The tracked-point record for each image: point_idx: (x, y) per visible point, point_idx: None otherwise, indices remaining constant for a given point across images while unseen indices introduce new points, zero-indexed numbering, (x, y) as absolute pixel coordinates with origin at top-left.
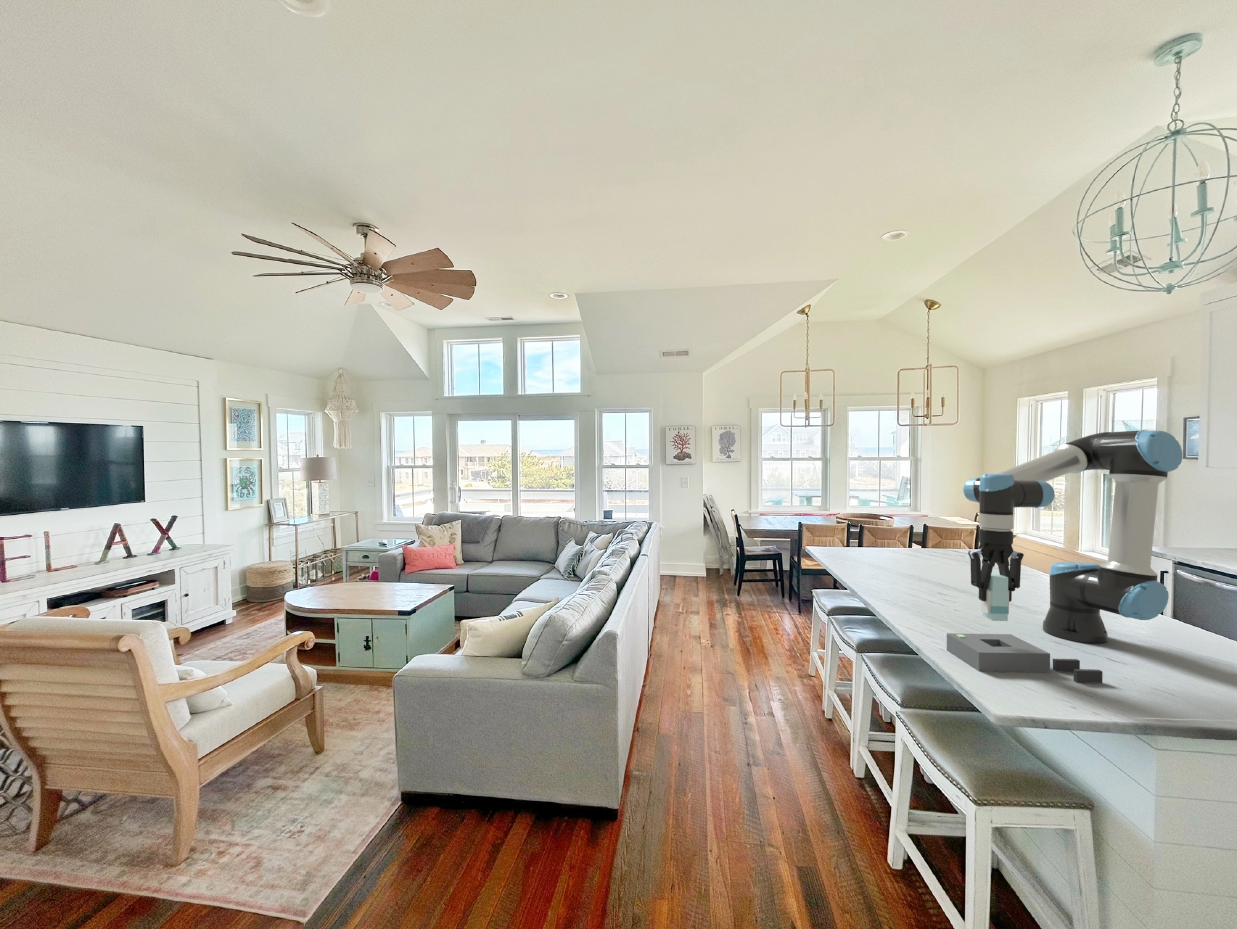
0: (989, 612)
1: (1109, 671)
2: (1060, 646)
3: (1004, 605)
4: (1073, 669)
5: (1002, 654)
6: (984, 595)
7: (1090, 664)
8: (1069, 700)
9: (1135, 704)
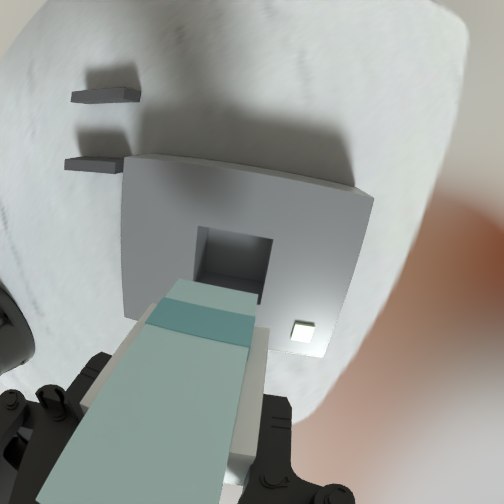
0: (260, 332)
1: (33, 165)
2: (38, 291)
3: (164, 333)
4: (91, 157)
5: (289, 178)
6: (271, 429)
7: (39, 201)
8: (257, 10)
9: (125, 6)
